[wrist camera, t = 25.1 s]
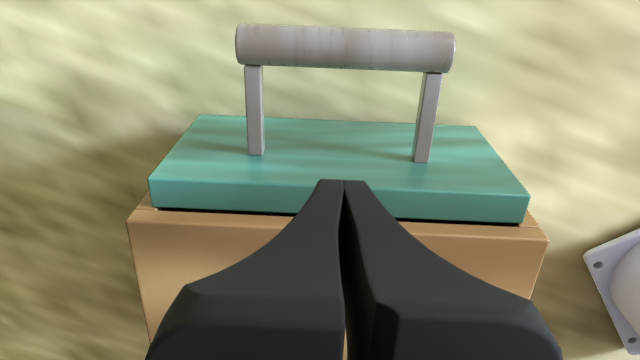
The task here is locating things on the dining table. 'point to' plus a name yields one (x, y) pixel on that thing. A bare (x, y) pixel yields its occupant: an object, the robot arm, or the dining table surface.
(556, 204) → the dining table surface
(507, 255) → the cabinet
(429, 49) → the drawer
